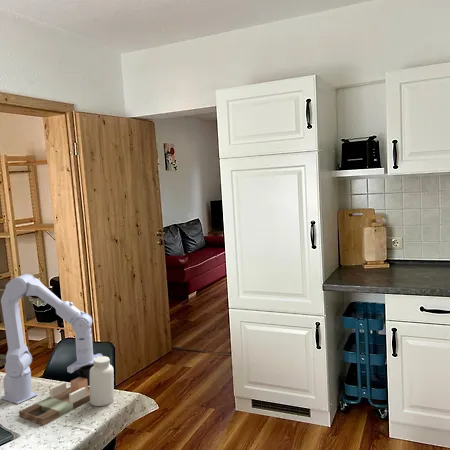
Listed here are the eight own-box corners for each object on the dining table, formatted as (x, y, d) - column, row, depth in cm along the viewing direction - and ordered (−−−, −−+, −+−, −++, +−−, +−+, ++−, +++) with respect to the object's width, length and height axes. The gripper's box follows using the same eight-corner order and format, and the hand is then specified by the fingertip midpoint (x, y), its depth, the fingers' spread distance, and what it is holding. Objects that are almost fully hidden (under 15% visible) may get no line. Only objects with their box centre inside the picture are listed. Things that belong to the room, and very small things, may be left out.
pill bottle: (111, 407, 148) (110, 364, 147) (87, 406, 148) (86, 363, 146) (116, 395, 156) (115, 354, 154) (93, 395, 156) (92, 354, 154)
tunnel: (49, 397, 153) (49, 388, 153) (64, 390, 158) (63, 381, 158) (72, 403, 147) (71, 394, 147) (86, 396, 152) (85, 387, 152)
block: (71, 392, 156) (70, 381, 156) (80, 387, 160) (79, 376, 160) (79, 394, 154) (78, 383, 154) (87, 389, 158) (87, 378, 157)
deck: (19, 417, 144) (19, 411, 144) (77, 388, 164) (77, 383, 164) (43, 425, 137) (42, 419, 137) (100, 395, 158) (100, 389, 157)
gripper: (75, 356, 151) (78, 395, 152) (107, 343, 163) (109, 379, 164) (62, 353, 155) (64, 391, 155) (94, 341, 167) (96, 376, 168)
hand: (87, 385), depth 160 cm, fingers closed
